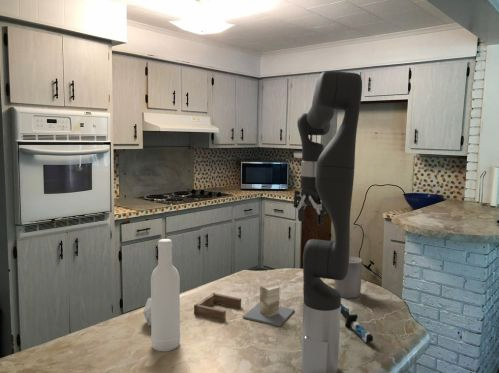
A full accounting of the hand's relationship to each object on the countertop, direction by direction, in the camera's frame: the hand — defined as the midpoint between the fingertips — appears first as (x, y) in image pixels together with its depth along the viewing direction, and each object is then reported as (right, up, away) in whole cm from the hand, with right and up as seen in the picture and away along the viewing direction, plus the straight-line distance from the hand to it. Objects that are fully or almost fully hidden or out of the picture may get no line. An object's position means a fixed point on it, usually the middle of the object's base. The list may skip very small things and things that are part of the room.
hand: (310, 223), depth 139 cm
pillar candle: (+17, -29, +19) cm, 38 cm away
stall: (-30, -30, +1) cm, 43 cm away
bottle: (-44, -32, -22) cm, 59 cm away
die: (-49, -31, -9) cm, 59 cm away
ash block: (-14, -30, -1) cm, 33 cm away
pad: (-14, -30, -1) cm, 33 cm away
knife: (+10, -31, -6) cm, 33 cm away
